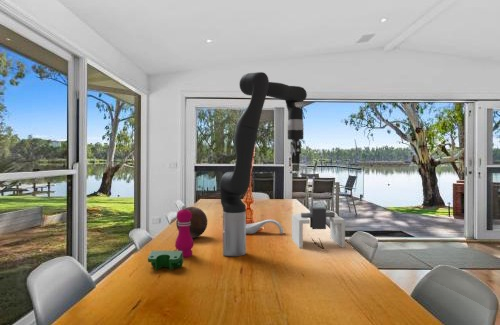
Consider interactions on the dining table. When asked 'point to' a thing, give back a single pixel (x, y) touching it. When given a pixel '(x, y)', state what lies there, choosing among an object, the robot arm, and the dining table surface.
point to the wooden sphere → (196, 222)
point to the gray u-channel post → (318, 218)
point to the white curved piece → (256, 226)
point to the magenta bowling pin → (184, 232)
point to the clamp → (166, 259)
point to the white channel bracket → (335, 228)
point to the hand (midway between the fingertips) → (295, 163)
